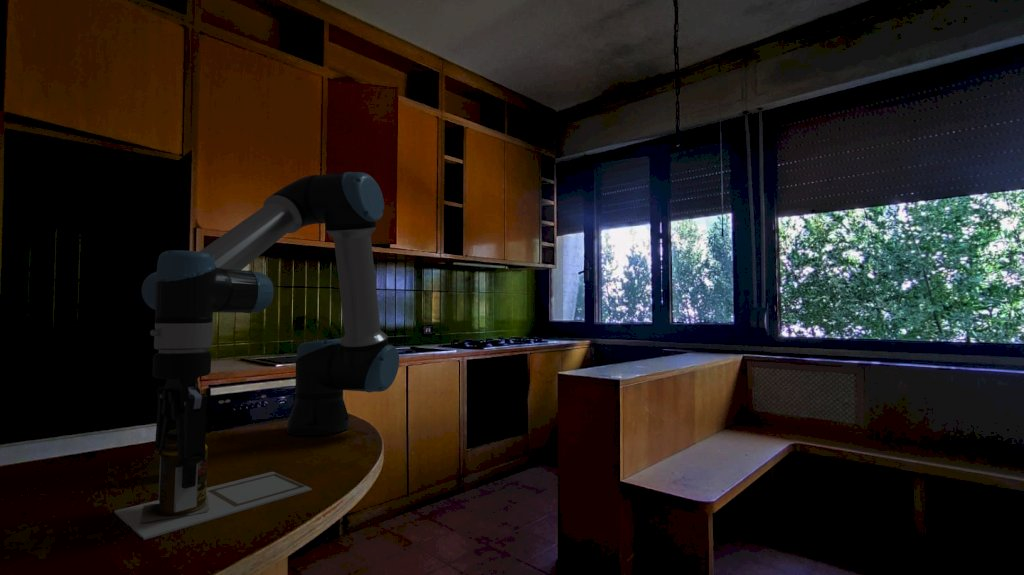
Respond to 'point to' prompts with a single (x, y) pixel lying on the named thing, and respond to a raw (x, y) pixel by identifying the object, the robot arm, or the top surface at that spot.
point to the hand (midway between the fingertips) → (177, 502)
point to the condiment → (168, 485)
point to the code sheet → (218, 503)
